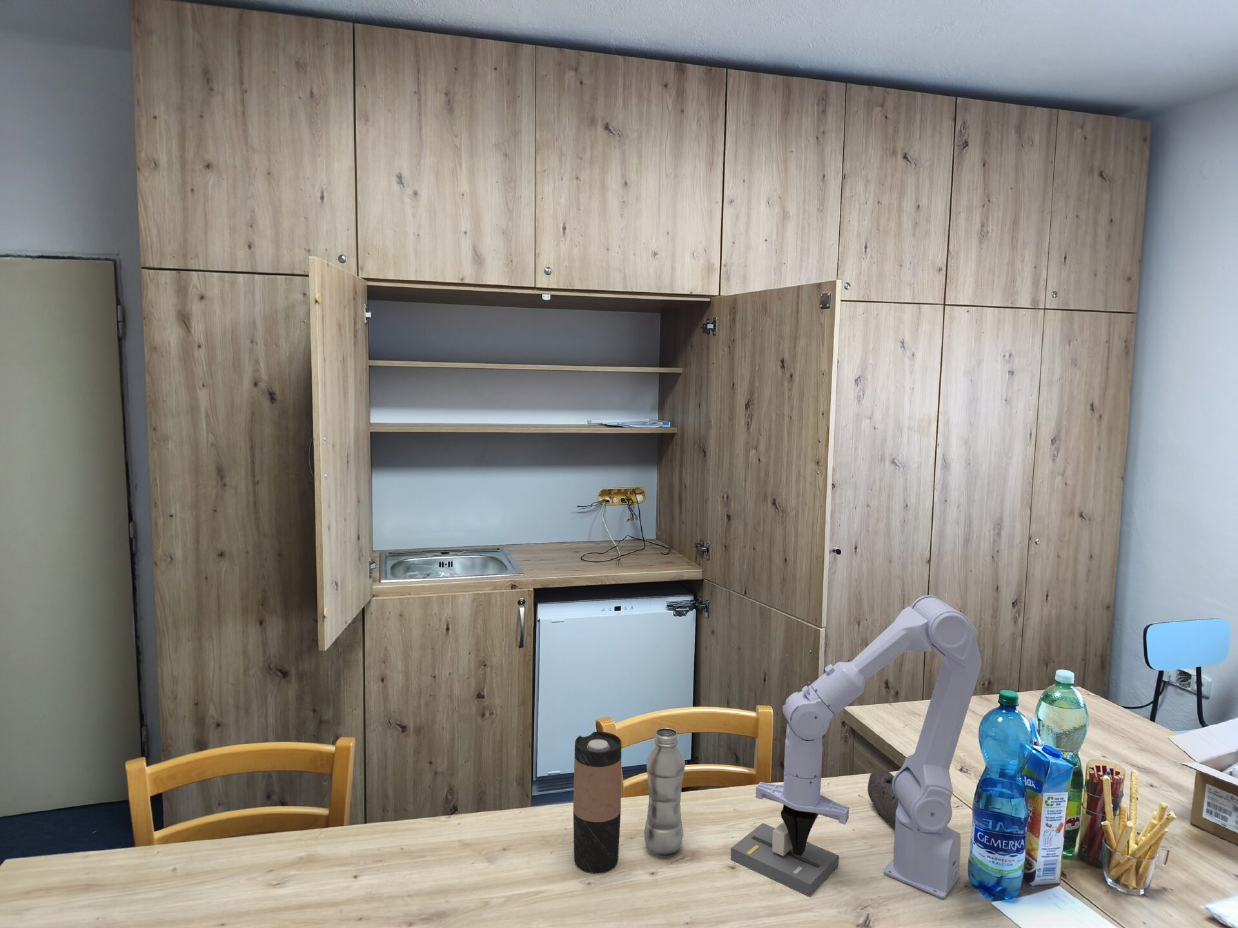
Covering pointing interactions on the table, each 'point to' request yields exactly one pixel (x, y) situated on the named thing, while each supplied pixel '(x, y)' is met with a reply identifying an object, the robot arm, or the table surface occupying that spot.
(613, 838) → the travel mug
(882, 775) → the perforated stone tool
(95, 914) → the table surface
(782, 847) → the fader tab
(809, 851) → the console board
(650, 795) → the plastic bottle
